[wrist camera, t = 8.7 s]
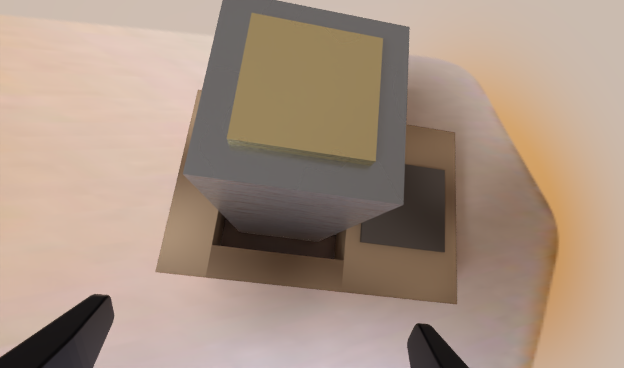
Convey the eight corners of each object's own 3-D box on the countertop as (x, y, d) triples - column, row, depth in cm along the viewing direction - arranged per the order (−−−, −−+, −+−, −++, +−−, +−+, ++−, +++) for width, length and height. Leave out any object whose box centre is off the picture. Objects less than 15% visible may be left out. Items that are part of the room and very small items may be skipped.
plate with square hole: (431, 298, 18) (459, 304, 15) (171, 270, 17) (154, 272, 14) (433, 147, 20) (456, 131, 18) (207, 111, 19) (197, 87, 16)
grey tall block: (317, 241, 18) (409, 202, 6) (239, 232, 18) (178, 169, 6) (325, 168, 19) (414, 17, 7) (252, 157, 19) (222, -22, 7)
